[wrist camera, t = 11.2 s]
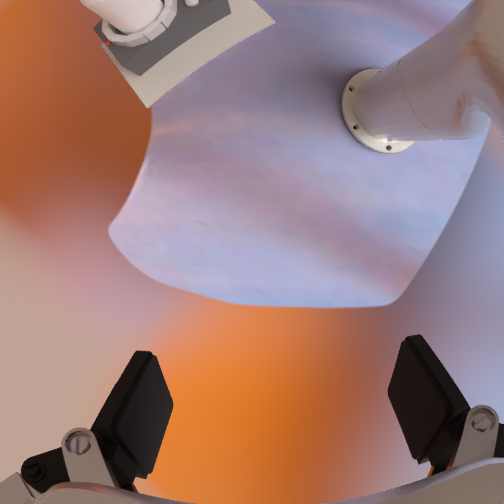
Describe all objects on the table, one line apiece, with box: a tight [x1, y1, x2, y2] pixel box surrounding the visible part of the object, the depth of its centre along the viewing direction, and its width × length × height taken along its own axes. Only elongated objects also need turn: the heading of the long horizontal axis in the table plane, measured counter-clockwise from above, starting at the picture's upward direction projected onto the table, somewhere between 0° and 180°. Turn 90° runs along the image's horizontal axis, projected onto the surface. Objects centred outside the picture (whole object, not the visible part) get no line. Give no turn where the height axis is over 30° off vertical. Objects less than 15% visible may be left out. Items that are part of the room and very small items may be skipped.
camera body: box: [94, 0, 231, 76], centre depth 25 cm, size 16×10×8 cm, turn 125°
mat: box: [101, 0, 275, 108], centre depth 29 cm, size 22×16×1 cm
